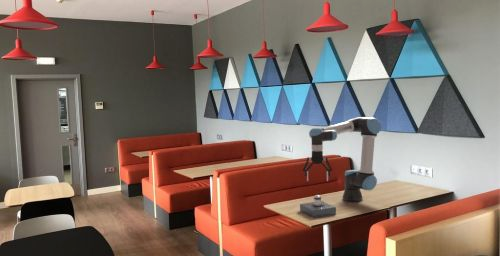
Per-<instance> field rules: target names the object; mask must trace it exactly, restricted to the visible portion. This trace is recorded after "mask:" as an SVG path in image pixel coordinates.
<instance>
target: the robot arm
mask: <svg viewBox="0 0 500 256" xmlns="http://www.w3.org/2000/svg"><path fill="white" fill-rule="evenodd" d="M381 129H382V124H381V122H380V121H379V119H378V118H377V117H376V118H375V117H369V116H368V117H367V116H358V117H355V118H351V119H348V120H346V121H345V122H340V123H336V124H332V125H328V126H323V127H313V128H312V129H310V130H309V132H308V135H309V137H310V139H311V157H307V158H306V162H305V163H304V166H303V167H302V171H303V172H305V177H306V181H307V182H309V170H310V168H311V167H312V166H313V165H320V164H321V165H322V166H323V168H324V169H325V170H326V182H328V181H329V177H330V174H331V171H333V168H332V166H331V165H330V163H329V161H328V157H327V156H325V157H324V155H323V154H324V153H323V149H324V146H323V142H333V141H335V140H337V138H338V135H340V134H341V135H342V134H344V133H353V132H354V133H355V132H356V133H357V132H359V133H360V136H361V137H362V144H361V154H360V155H361V159H360V168H359V169H349V170H345V172H344V191H343V194H342V200H343V201H345V202H350V203H358V202H362V201H363V195H362V191H361V190H363V191H368V192H369V191H372V190H374V188H376V186H377V183H378V180H377V179H378V178H377V177H376V176H375V171H373V163H374V153H375V152H374V151H375V139H376V138H377V137H378V134H379V133H380V131H382V130H381ZM309 161H311V162H310V163H309ZM323 161H325V162H326V164H327V165H326V164H325V163H324V162H323ZM308 163H309V165H308Z"/></svg>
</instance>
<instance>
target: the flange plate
mask: <svg viewBox="0 0 500 256" xmlns="http://www.w3.org/2000/svg"><path fill="white" fill-rule="evenodd" d="M299 211H300V212H301V213H303V214H305V215H307V216H309V217H311V218H313V219H316V218H322V217H327V216H328V217H329V216H333V215H336V214H337V207H336V206H334V205H332V204H330V203H327V202H325V201H322V200H321V207H315V206H314V201H313V202H304V203H300V204H299Z"/></svg>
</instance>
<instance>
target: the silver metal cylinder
mask: <svg viewBox="0 0 500 256" xmlns="http://www.w3.org/2000/svg"><path fill="white" fill-rule="evenodd" d="M313 199H314V200H313V202H314V206H315V207H321V201H322V195H320V194H316V195H313Z"/></svg>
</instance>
